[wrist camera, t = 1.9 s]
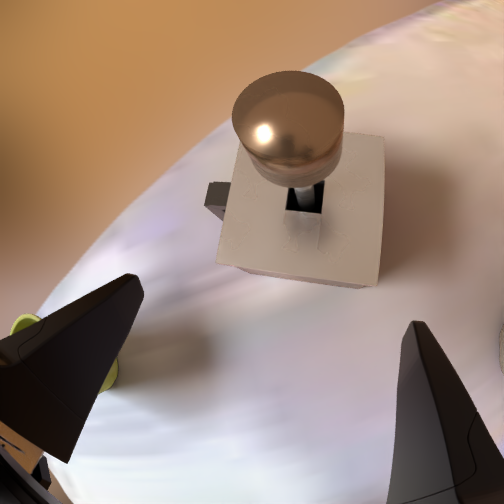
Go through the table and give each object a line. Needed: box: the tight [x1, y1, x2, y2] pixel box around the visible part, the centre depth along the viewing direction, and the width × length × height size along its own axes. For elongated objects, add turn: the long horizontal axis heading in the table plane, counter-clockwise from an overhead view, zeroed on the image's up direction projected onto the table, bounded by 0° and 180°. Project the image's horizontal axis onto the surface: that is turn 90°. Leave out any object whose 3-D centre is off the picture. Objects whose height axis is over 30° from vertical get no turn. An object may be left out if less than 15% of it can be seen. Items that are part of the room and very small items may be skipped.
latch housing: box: [204, 132, 385, 289], centre depth 19 cm, size 9×11×7 cm
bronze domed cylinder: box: [232, 71, 344, 212], centre depth 13 cm, size 4×4×9 cm
